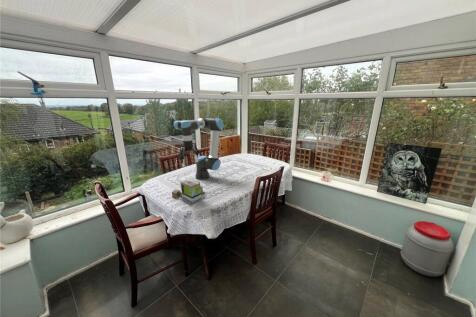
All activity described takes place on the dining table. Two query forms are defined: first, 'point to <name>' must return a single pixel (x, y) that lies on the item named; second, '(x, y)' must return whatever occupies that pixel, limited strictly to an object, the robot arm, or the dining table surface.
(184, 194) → the tea box
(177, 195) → the walnut block
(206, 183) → the dining table surface
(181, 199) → the slate mat
